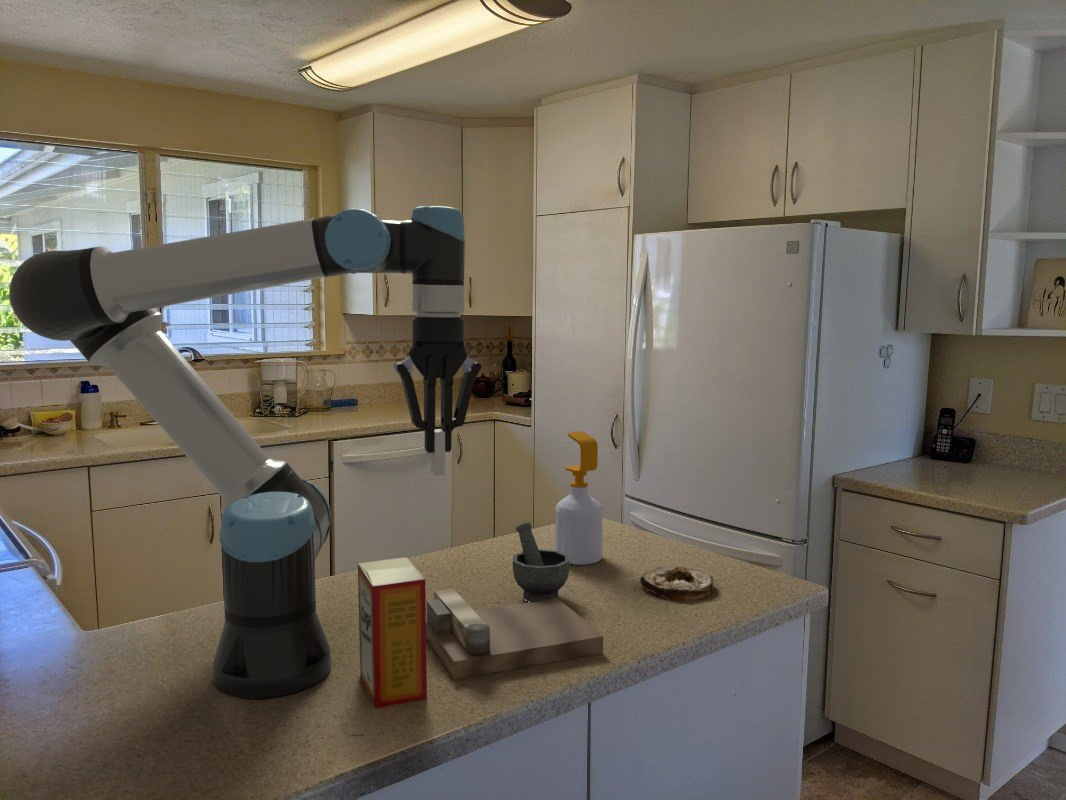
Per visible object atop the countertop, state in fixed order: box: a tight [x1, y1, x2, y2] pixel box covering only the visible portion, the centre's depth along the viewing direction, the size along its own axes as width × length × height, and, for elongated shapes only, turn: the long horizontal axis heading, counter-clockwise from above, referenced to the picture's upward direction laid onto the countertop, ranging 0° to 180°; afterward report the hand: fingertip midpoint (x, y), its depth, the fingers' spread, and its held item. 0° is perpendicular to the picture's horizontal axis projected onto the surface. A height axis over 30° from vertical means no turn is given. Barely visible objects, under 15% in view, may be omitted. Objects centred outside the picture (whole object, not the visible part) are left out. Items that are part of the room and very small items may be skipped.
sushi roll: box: [640, 565, 714, 602], centre depth 144 cm, size 15×15×4 cm
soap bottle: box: [554, 430, 604, 566], centre depth 159 cm, size 9×9×25 cm
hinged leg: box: [433, 588, 490, 654], centre depth 119 cm, size 18×3×3 cm, turn 23°
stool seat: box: [426, 598, 604, 680], centre depth 121 cm, size 22×16×6 cm
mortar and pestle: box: [512, 522, 570, 602], centre depth 139 cm, size 11×9×12 cm
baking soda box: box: [357, 556, 428, 709], centre depth 107 cm, size 10×6×16 cm
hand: (437, 473), depth 124 cm, fingers closed
